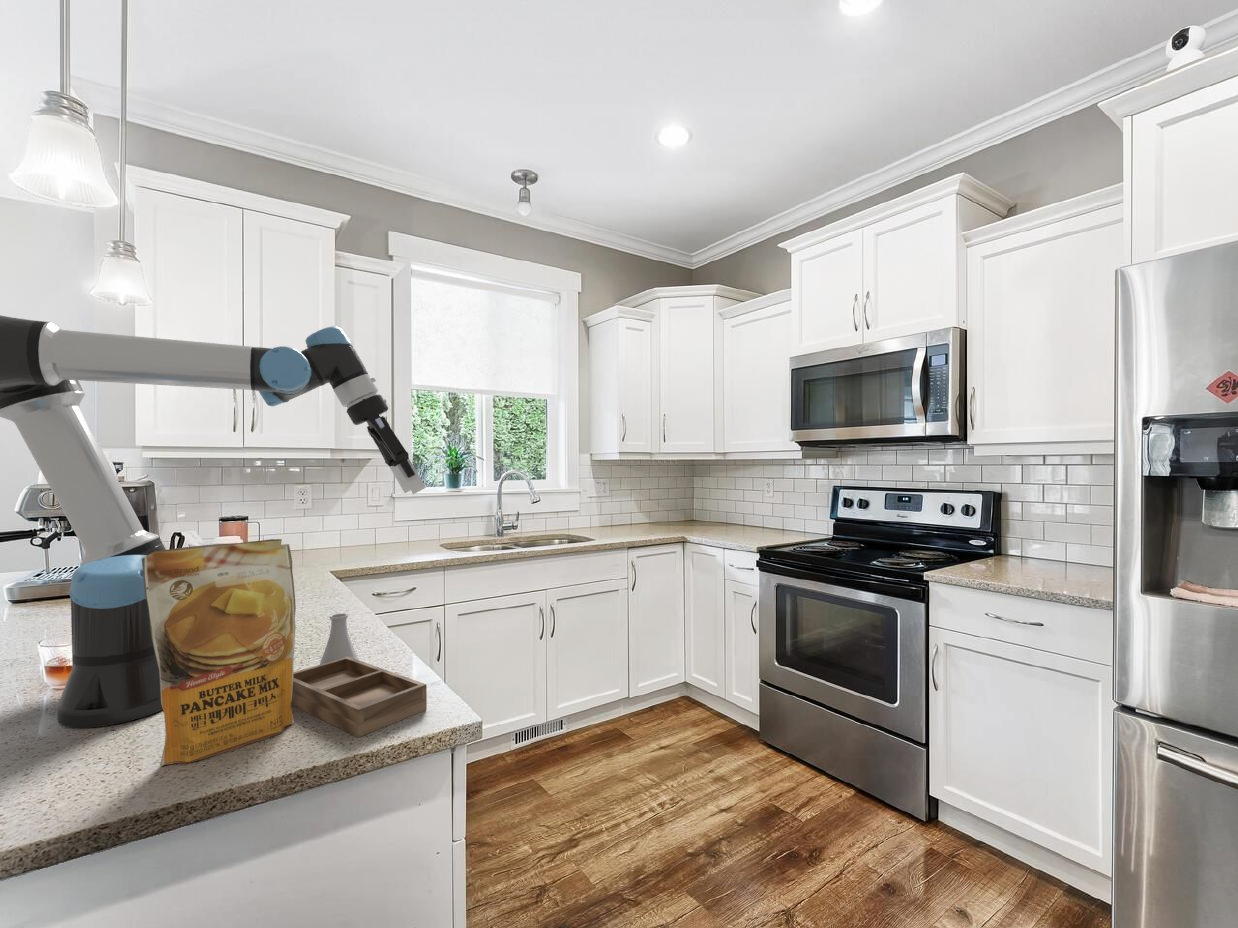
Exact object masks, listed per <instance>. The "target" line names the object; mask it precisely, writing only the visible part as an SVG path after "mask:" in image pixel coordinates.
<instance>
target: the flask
mask: <svg viewBox="0 0 1238 928" xmlns="http://www.w3.org/2000/svg"><path fill="white" fill-rule="evenodd" d="M328 617H329V620H330V624H331V625H330V626H331V627H330V630H329V631H330V632H329V637H328V640H327V643H326V646H325V649H324V652H323V654H322V657H321V660H320V663H319V665H321V664H324V663H328V662H331V661H334V660H338V659H341V658H345V657H351V658H354V659H356V660H359V661H360V659H359V657H358V654H357V652H356V650H355V647H354V645H353V642H352V640H351V637H350V635H349V631H348V625H347V622H348V620H347V618H348V617H349V614H348V613H346V612H340V613H334V614H330V615H329V616H328Z"/></svg>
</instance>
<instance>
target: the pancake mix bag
mask: <svg viewBox="0 0 1238 928" xmlns="http://www.w3.org/2000/svg"><path fill="white" fill-rule="evenodd" d="M142 567H143V579H144V590H145V597H146V600H147V603H148V609H149V619H150V628H151V636H152V642H153V647H154V652H155V655H156V659H157V663H158V667H159V673H160V691H161V704H162V708H163V710H162V711H163V716H164V726H165V729H164V731H165V737H164V745H163V749H162V754H161V760H160V762H159V763H160V764H159V767H162V766H168V765H171V764H190V763H194V762H197V761H198V762H199V761H200V760H204V759H208V758H211V757H213V756H217V755H220V754H224V753H226V752H227V753H228V752H230V751H233V750H236V749H239V748H241V747H243V746H247V745H250V744H253V743H257V742H260V741H264V740H266V739H268V738H272V737H274V736H278V735H279V734H281V733H283V732H284V730H285V728H286V727H288V726H291V725H292V724H294V723H295V719H294V715H293V710H292V705H291V701H292V689H293V672H294V661H295V659H294V656H295V642H296V639H295V638H296V619H295V618H296V608H297V607H296V593H295V584H294V582H295V581H294V575H293V558H292V553H291V547H290V544H289V543H286V544H284V543H283V544H282V538H280V539H279V538H277V539H275V538H271V539H270V538H269V539H263V540H253V541H252V540H251V541H246V542H245V541H244V542H233V543H213V544H205V545H195V546H186V547H184V546H183V547H178V548H177V547H176V548H170V549H169V548H168V549H166V550H161V551H155V552H153V553H151V554H149V555H147V556H146V557H144V558H142Z"/></svg>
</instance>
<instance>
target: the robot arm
mask: <svg viewBox="0 0 1238 928" xmlns="http://www.w3.org/2000/svg"><path fill="white" fill-rule="evenodd" d="M305 344H306V348H305V349H303V350H302V351H299V350H298V349H295V348H294V347H291V346H283V345H282V346H276V347H275V346H274V347H273V348H271V347H258V346H257V347H256V346H251V345H250V346H249V345H237V344H226V343H213V342H202V341H191V340H181V339H170V338H169V339H167V338H157V337H147V336H145V337H144V336H135V335H124V334H123V335H122V334H113V333H102V332H89V331H79V330H69V329H67V330H66V329H62V328H61V327H60V326H58V325H57V324H56V323H54V322H53V321H52V322H51V321H41V320H32V319H25V318H18V317H12V316H11V317H10V316H6V315H0V418H3V419H6V420H8V421H11V422H13V423H14V425H15V426H16V428H17V429H18V431H19V434H20V435H21V437H22V439H23V440H24V442H25V444H26V446H27V448H28V450H29V451H30V454H31V455H32V457H33V460H34V461H35V462H36V464H37V466H38V468H39V469H40V472H41V473H42V475H43V477H44V479H45V480H46V482H47V484H48V486H49V488H50V490H51V491H52V493H53V495H54V497H55V499H56V500H57V502H58V504H59V506H60V508H61V509H62V512H63V514H64V515H65V517H66V519H67V521H68V522H69V524H70V526H71V528H72V530H73V532H74V534H75V535H76V537H77V538H78V540H79V542H80V545H81V547H82V548H83V550H84V552H85V554H84V556H83V558H82V560H81V562H80V564H79V567H78V568H76V569H75V570H74V572H73V574H72V576H71V582H70V586H69V590H68V591H69V597H70V615H71V616H70V617H71V625H70V626H71V655H72V656H71V657H72V658H71V661H72V666H71V671H70V673H69V676H68V678H67V680H66V682H65V686H64V689H63V691H62V693H61V697H60V699H59V701H58V703H57V723H58V724H59V725H61V726H63V727H66V728H76V729H77V728H78V729H79V728H80V729H81V728H83V729H84V728H99V727H106V726H110V725H111V726H112V725H117V724H122V723H127V722H130V721H134V720H138V719H141V718H144V717H147V716H151V715H154V714H156V713H158V712H161V711H163V708H162V704H161V691H160V673H159V667H158V663H157V659H156V655H155V652H154V647H153V642H152V636H151V628H150V619H149V609H148V603H147V600H146V597H145V590H144V579H143V567H142V558H144V557H146V556H147V555H149V554H151V553H153V552H155V551H161V550H167V548H166V547H165V544H164V543H163V541H162V538H161V537H160V536H159V535H158V534H156V533H153V532H150V531H147V530H145V529H144V527H143V525H142V523H141V521H140V520H139V518H138V516H137V514H136V512H135V510H134V508H133V506H132V504H131V502H130V500H129V499H128V497H127V494H126V493H125V492H124V489H123V487H122V485H121V484H120V481H119V480H118V478H117V475H116V474H115V472H114V470H113V469H112V466H111V464H110V462H109V461H108V458H107V457H106V455H105V453H104V450H103V449H102V448H101V447H102V446H100V444H99V441H98V440H97V437H96V436H95V434H94V432H93V430H92V428H91V426H90V424H89V422H88V420H87V419H86V417H85V415H84V412H83V411H82V409H81V407H80V405H81V404H80V403H81V402H82V400H83V399H84V397H85V395H86V393H85V392H84V390H83V388H82V386H81V384H80V382H79V381H82V382H83V381H85V382H98V383H99V382H100V383H101V382H102V383H118V384H119V383H122V384H137V385H138V384H140V385H151V386H152V385H154V386H174V387H187V388H189V387H191V388H209V389H222V390H223V389H225V390H226V389H227V390H228V389H229V390H242V391H243V390H245V391H256V392H258V393H259V394H260V396H261V397H262V398H263V399H262V400H264V403H266V405H267V406H269V407H276V406H278V405H281V404H285V403H289V401H291V400H293V399H296V398H297V397H300V396H301V395H304V394H307V393H309V392H311V391H313V390H315V389H317V388H319V387H322V386H325V385H326V384H328V383H329V385H330V386H331V388H332V389H333V392H334V394H335V396H336V397H337V400H338V401H339V403H340V404H341V405H342V407H343V408H346V414H347V415H348V417H349V419H350V420H351V422H352V424H353V425H354V426H358V425H361V424H364V423H365V422H366V423H367V425H368V426H367V427H366V428H367V429H366V430H367V432H368V435H369V436H370V437H371V438H372V440H373V442H374V443H375V445H376V446H377V448H378V450H379V452H380V454H381V456H382V458H383V460H384V463H385V464H386V465H387V466H388V467H389V469H390V471H391V472H392V474H393V476H394V477H395V479H396V481H397V482H398V484H399V486H400V488H401V489H402V491H403V493H404V494H406V493H408V492H410V491H411V493H412V495H415V494H417V493H419V492H421V491H422V490H425V488H427V487H426V485H425V484H424V482H423V480H422V478H421V477H420V475H419V473H418V472H417V469H416V468H415V466H414V465H413V462H412V461H411V459H410V458H409V456H410V455H409V453H408V451H407V450H406V449H405V447H404V446H403V444H402V443H401V441H400V440H399V438H398V437H397V435H396V434H395V432H394V431H393V430H392V428H391V426H390V424H389V422H388V421H387V420H386V417H385V416H384V415H382V414H384V413H386V412H388V410H389V406H388V405H387V403H386V402H385V399H384V398H383V396H382V395H381V394H380V393H379V394H377V393H378V391H379V390H378V388H377V386H376V385H375V382H376V380H377V379H375V377H371V376H370V373H369V371H367V369H366V367H365V365H364V363H363V362H362V360H361V358H360V356H359V354H358V353H357V350H356V348H354V344H353V343H352V342H351V341H350V339H349V338H348V336H347V335H346V333H345V331H344V330H343V329H342V328H341V327H338V326H336V325H335V326H334V325H332V326H328V327H324V328H321V329H319V330H316V332H313V333H311V334H309V335H308V336H307V337H306V338H305ZM370 377H371V378H370ZM381 415H382V416H381Z"/></svg>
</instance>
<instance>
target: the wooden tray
mask: <svg viewBox="0 0 1238 928" xmlns="http://www.w3.org/2000/svg"><path fill="white" fill-rule="evenodd" d="M427 695H428V693H427V683H424V682H420V681H418V680H415V679H412V678H409V677H407V676H404V675H401V674H399V673H396V672H393V671H390V670H388V669H385V668H381V667H378V666H376V665H373V664H370V663H367V662H364V661H362V660H360V659H359V660H356V659H354V658H351V657H345V658H341V659H338V660H334V661H331V662H328V663H324V664H321V665H320V664H318V665H314V666H312V667H308V668H304V669H301V670H298V671H293V689H292V701H291V706H293V707H295V708H297V709H299V710H301V711H304V712H306V713H307V714H310V715H311V716H313V717H316V718H318V719H320V720H321V721H324V722H326V723H327V724H330V725H332V726H334V727H335V728H336V727H337V728H339V729H340V730H342V731H344V732H347V733H348V734H350V735H353V736H355V737H357V738H361V737H364V736H365V735H366V736H367V735H368V734H370V733H373V732H375V731H377V730H380V729H383V728H385V727H387V726H388V727H389V726H390V725H392V724H394V723H395V724H396V723H397V722H399V721H402V720H404V719H407V718H409V717H412V716H415V715H417V714H419V713H421V712H423V711H427V707H428V706H427V705H428V704H427V701H428V700H427V697H428V696H427Z"/></svg>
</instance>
